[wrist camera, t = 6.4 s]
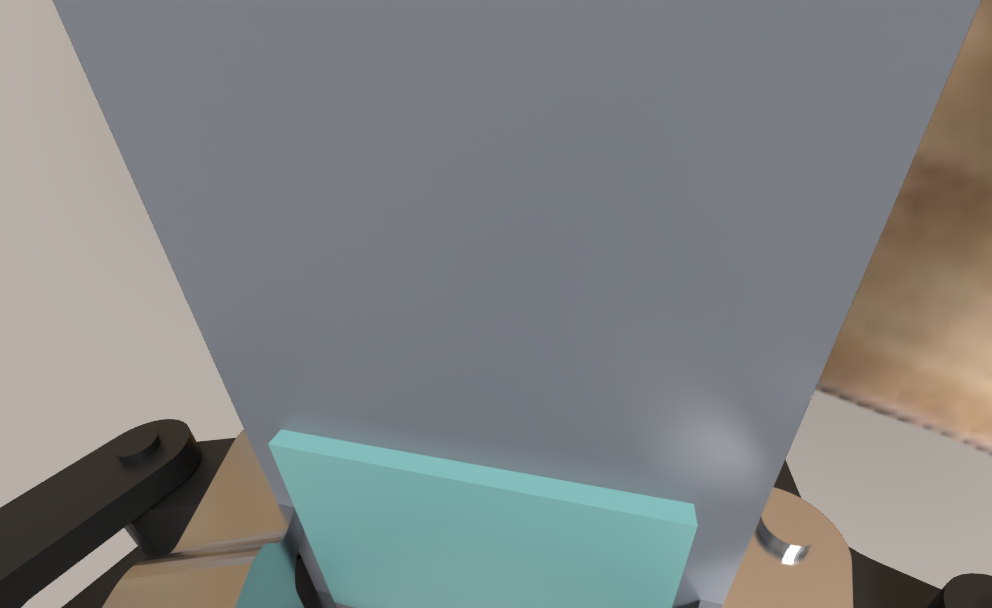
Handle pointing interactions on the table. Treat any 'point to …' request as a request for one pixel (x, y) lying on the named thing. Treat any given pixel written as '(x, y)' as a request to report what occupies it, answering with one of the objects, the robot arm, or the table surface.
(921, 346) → the table surface
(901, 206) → the table surface
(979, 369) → the table surface
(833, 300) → the slab with teal patch
